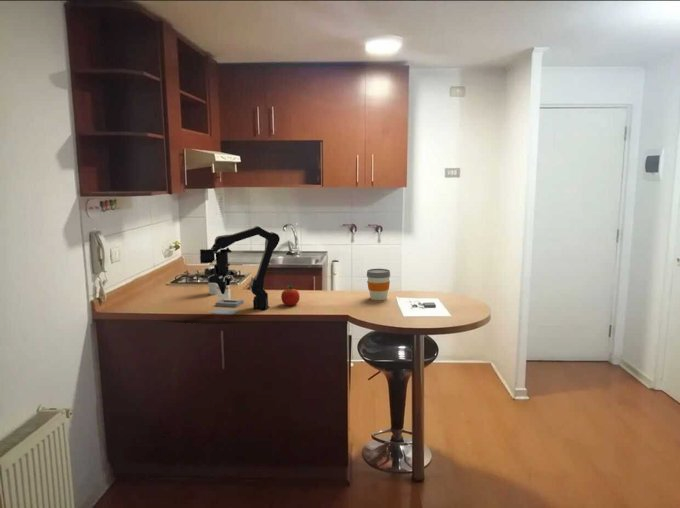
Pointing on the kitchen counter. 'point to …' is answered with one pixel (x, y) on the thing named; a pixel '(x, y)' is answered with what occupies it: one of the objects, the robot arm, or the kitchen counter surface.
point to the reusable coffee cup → (378, 283)
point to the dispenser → (229, 303)
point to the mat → (224, 311)
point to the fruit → (290, 296)
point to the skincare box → (212, 286)
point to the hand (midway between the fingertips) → (224, 293)
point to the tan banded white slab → (224, 293)
